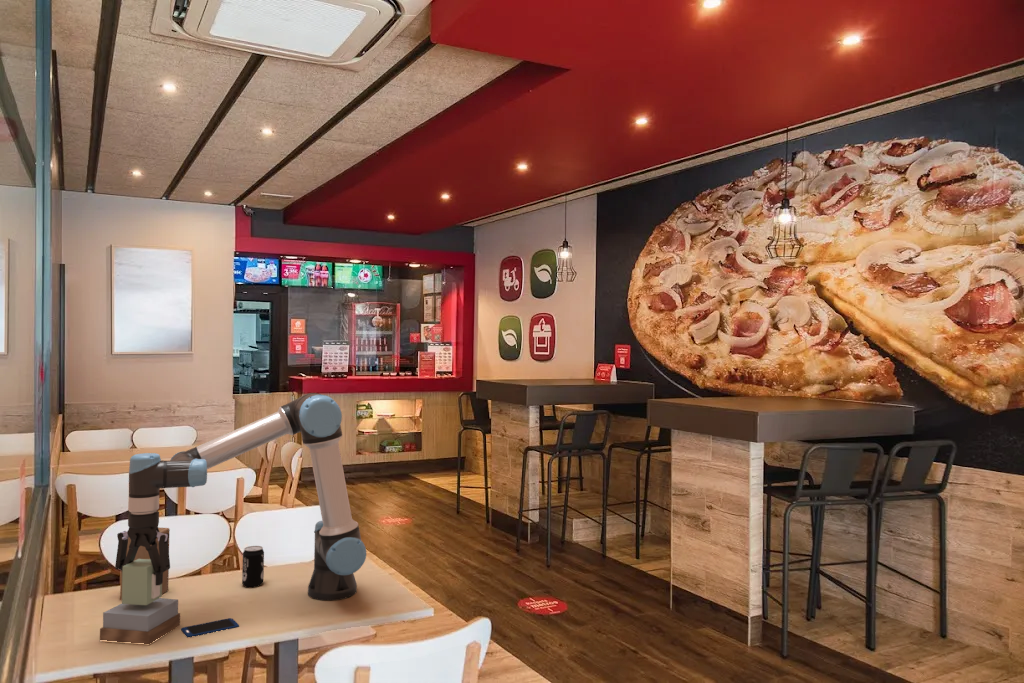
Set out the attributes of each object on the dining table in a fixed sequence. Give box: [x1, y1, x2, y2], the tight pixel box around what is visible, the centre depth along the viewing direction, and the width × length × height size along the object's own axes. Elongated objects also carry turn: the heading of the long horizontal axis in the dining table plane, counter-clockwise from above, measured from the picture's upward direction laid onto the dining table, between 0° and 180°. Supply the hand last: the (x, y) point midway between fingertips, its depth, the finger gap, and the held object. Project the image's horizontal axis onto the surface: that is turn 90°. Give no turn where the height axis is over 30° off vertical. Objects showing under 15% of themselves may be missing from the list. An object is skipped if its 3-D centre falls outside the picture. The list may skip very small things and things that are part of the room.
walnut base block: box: [99, 612, 181, 644], centre depth 201 cm, size 14×14×4 cm
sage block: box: [121, 559, 163, 605], centre depth 202 cm, size 7×7×10 cm
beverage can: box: [241, 545, 265, 588], centre depth 243 cm, size 7×7×12 cm
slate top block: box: [102, 597, 179, 632], centre depth 201 cm, size 13×13×4 cm
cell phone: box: [180, 617, 240, 638], centre depth 206 cm, size 7×14×1 cm, turn 128°
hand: (142, 596), depth 202 cm, fingers closed on sage block, 7 cm apart
